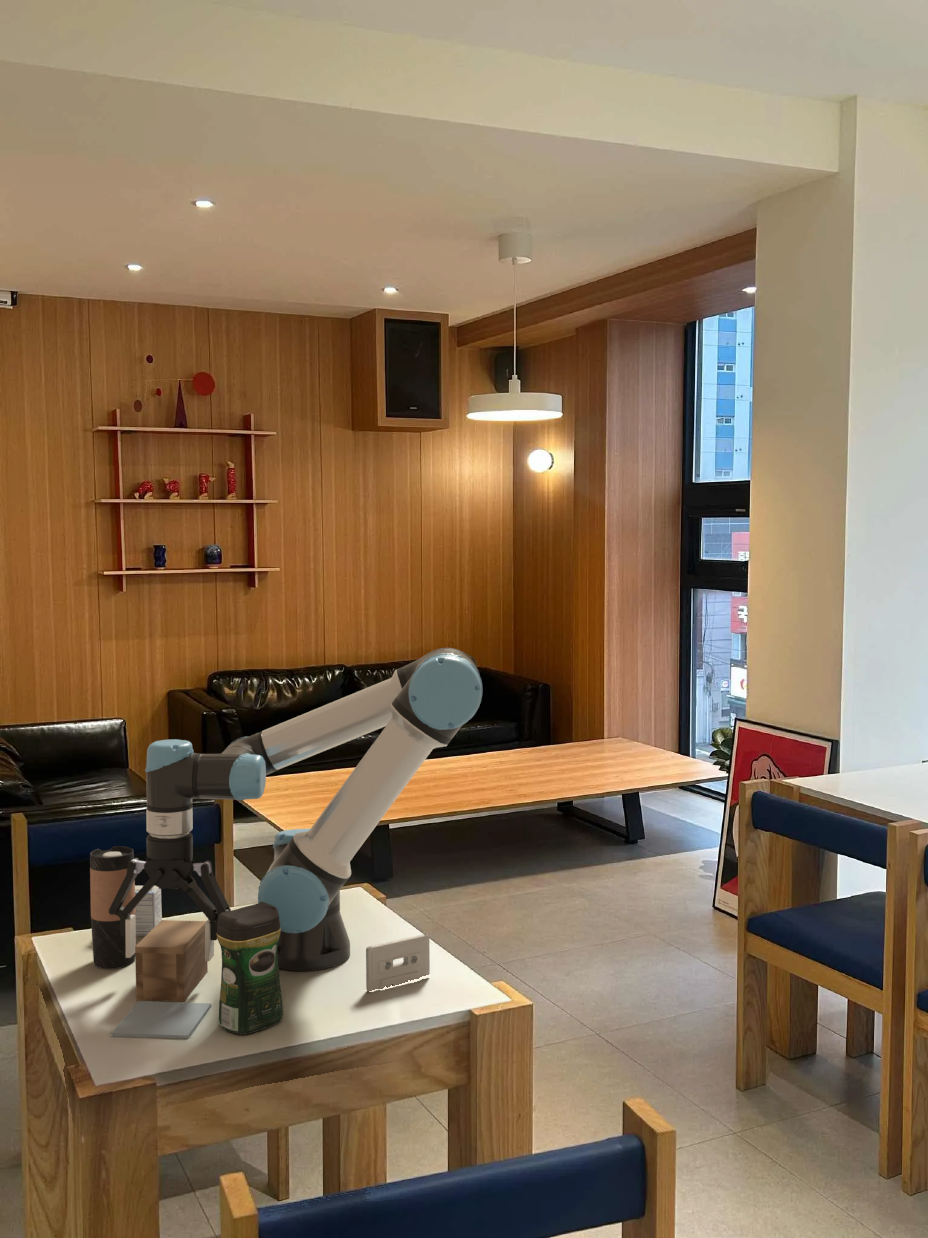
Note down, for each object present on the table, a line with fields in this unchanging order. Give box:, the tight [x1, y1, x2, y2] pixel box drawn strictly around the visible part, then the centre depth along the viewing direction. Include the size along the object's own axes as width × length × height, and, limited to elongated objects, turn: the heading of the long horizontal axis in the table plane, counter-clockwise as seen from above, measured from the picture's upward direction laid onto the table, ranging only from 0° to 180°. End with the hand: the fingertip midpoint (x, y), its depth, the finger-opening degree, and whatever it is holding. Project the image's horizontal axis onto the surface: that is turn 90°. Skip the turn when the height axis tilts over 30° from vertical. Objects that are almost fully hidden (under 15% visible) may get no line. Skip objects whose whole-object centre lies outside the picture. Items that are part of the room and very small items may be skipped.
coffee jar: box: [217, 902, 284, 1035], centre depth 179 cm, size 10×8×19 cm
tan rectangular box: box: [134, 919, 209, 1003], centre depth 195 cm, size 8×13×9 cm, turn 176°
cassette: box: [365, 933, 431, 992], centre depth 195 cm, size 12×2×8 cm, turn 123°
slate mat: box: [110, 1000, 212, 1040], centre depth 181 cm, size 12×12×1 cm
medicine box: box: [135, 885, 163, 937], centre depth 221 cm, size 8×4×9 cm, turn 88°
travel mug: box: [89, 845, 136, 970], centre depth 205 cm, size 8×8×20 cm
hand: (170, 957), depth 195 cm, fingers open, 13 cm apart
